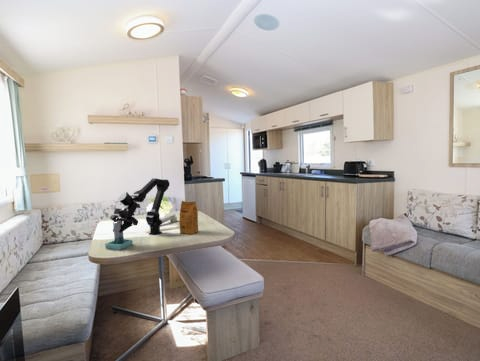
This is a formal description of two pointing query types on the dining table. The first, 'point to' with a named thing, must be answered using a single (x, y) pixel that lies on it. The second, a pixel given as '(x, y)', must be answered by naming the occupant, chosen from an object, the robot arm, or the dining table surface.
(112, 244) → the tray
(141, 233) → the dining table surface
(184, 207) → the coffee package
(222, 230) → the dining table surface
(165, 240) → the dining table surface
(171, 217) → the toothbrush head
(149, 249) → the dining table surface
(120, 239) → the block
